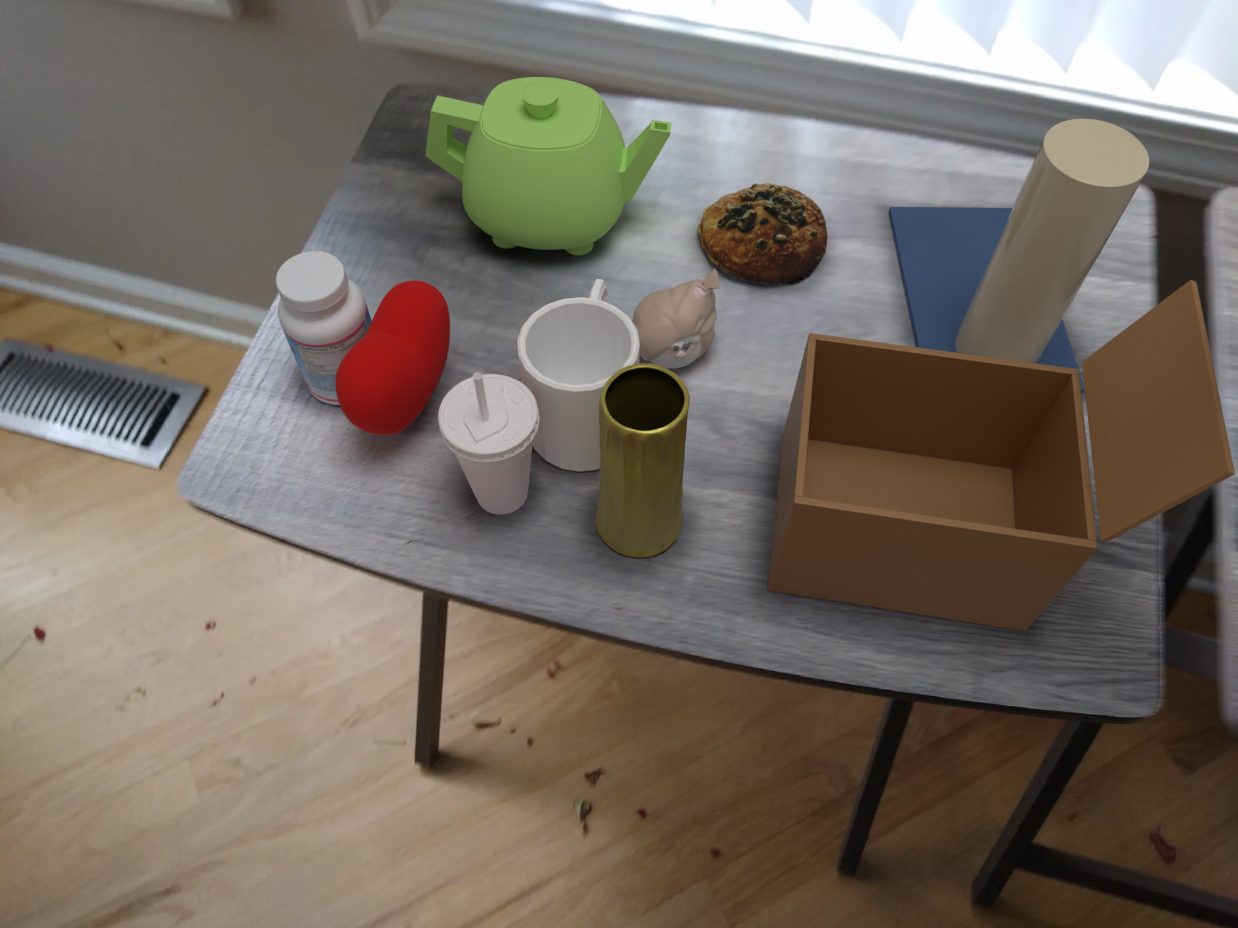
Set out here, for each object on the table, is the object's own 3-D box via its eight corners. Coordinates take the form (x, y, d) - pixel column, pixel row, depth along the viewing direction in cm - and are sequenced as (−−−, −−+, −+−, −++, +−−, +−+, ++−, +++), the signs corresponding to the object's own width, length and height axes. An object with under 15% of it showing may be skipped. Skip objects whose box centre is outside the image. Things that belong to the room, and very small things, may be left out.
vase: (583, 543, 68) (577, 423, 56) (612, 473, 71) (612, 345, 59) (667, 569, 67) (680, 453, 55) (693, 496, 70) (710, 371, 58)
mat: (1082, 395, 75) (1085, 390, 75) (925, 393, 75) (927, 388, 75) (1024, 213, 86) (1027, 207, 86) (888, 211, 86) (889, 206, 86)
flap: (1081, 361, 61) (1086, 364, 61) (1100, 540, 54) (1106, 543, 54) (1190, 279, 55) (1196, 281, 55) (1229, 471, 48) (1235, 474, 48)
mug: (653, 354, 77) (659, 264, 69) (624, 480, 71) (626, 398, 62) (554, 338, 78) (547, 247, 70) (516, 462, 72) (503, 378, 63)
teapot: (672, 175, 89) (680, 49, 78) (656, 284, 81) (663, 161, 71) (454, 155, 90) (433, 29, 79) (420, 260, 83) (392, 137, 72)
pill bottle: (318, 344, 77) (278, 239, 68) (394, 350, 77) (364, 245, 68) (297, 406, 74) (252, 304, 65) (377, 412, 74) (342, 311, 64)
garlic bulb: (705, 390, 75) (714, 320, 69) (623, 376, 76) (624, 305, 69) (717, 325, 79) (727, 253, 72) (639, 313, 79) (642, 240, 73)
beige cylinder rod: (1054, 352, 77) (1170, 156, 61) (1003, 394, 74) (1110, 201, 59) (988, 305, 79) (1083, 105, 64) (937, 344, 77) (1022, 147, 61)
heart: (409, 485, 70) (382, 401, 62) (342, 463, 71) (306, 377, 63) (477, 365, 76) (461, 274, 68) (414, 346, 77) (390, 254, 69)
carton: (1016, 467, 72) (1079, 368, 62) (1025, 631, 65) (1098, 548, 55) (782, 434, 73) (809, 332, 63) (767, 590, 66) (793, 502, 56)
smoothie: (444, 520, 69) (410, 400, 57) (473, 447, 72) (447, 319, 61) (532, 539, 68) (516, 421, 56) (557, 464, 71) (547, 338, 60)
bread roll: (792, 308, 80) (795, 258, 76) (674, 267, 84) (672, 219, 80) (851, 231, 85) (856, 182, 81) (737, 197, 90) (738, 148, 86)
